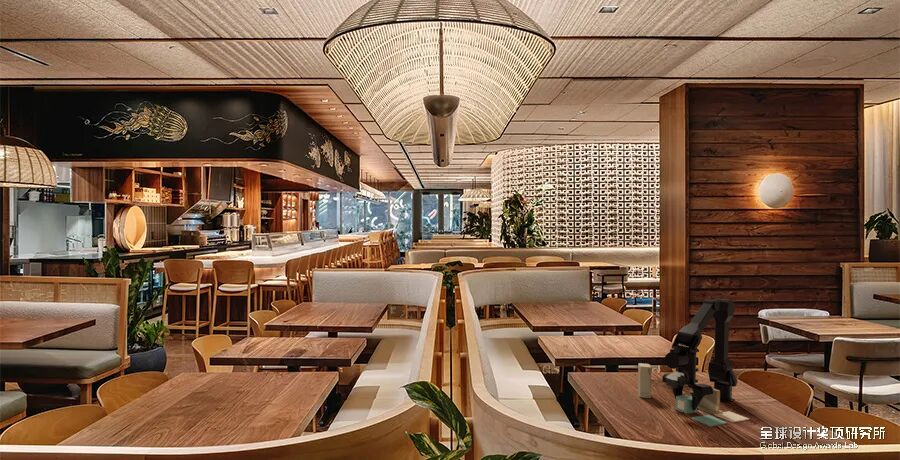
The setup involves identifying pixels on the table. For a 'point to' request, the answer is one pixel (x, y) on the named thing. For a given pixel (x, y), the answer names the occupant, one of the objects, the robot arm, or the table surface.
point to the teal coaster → (709, 420)
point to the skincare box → (644, 380)
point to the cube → (684, 404)
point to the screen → (710, 402)
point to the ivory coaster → (731, 416)
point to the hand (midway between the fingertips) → (686, 407)
